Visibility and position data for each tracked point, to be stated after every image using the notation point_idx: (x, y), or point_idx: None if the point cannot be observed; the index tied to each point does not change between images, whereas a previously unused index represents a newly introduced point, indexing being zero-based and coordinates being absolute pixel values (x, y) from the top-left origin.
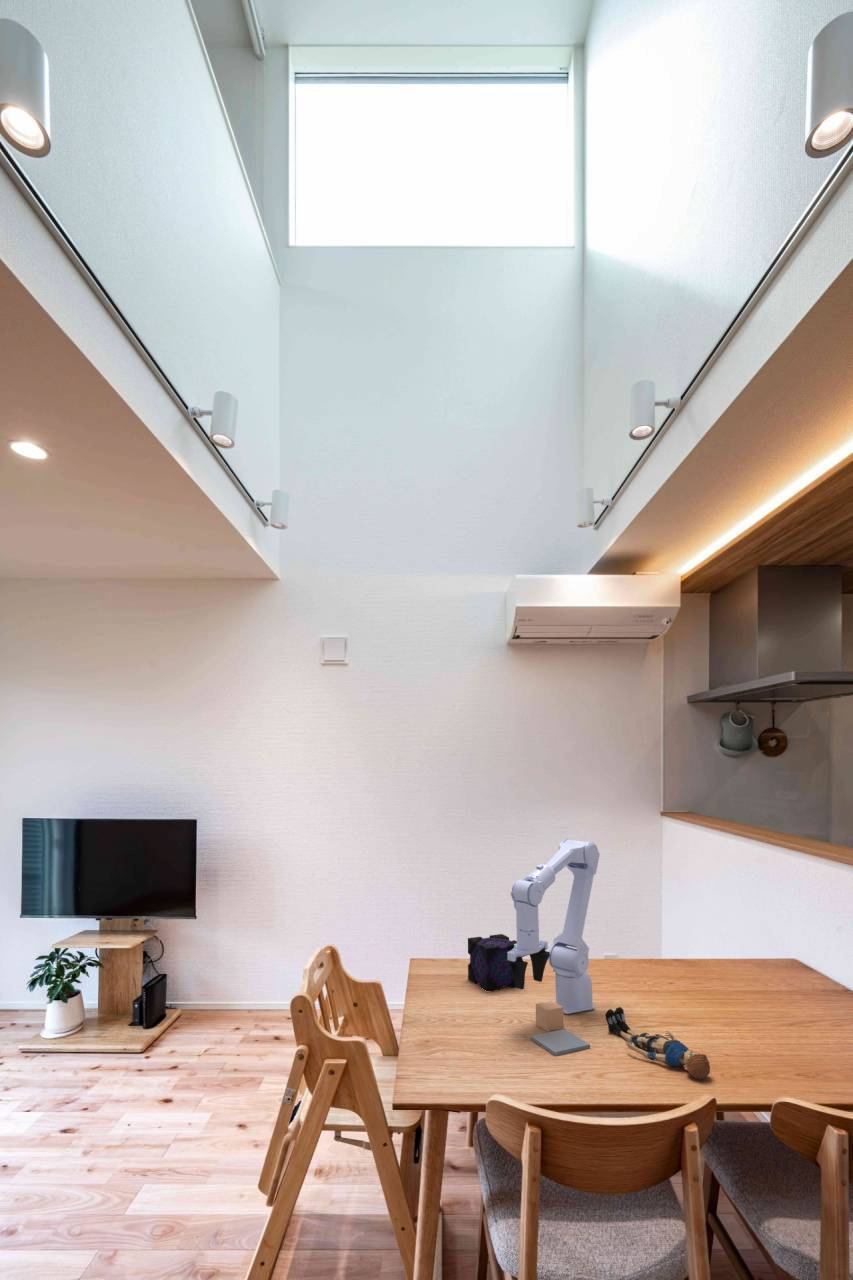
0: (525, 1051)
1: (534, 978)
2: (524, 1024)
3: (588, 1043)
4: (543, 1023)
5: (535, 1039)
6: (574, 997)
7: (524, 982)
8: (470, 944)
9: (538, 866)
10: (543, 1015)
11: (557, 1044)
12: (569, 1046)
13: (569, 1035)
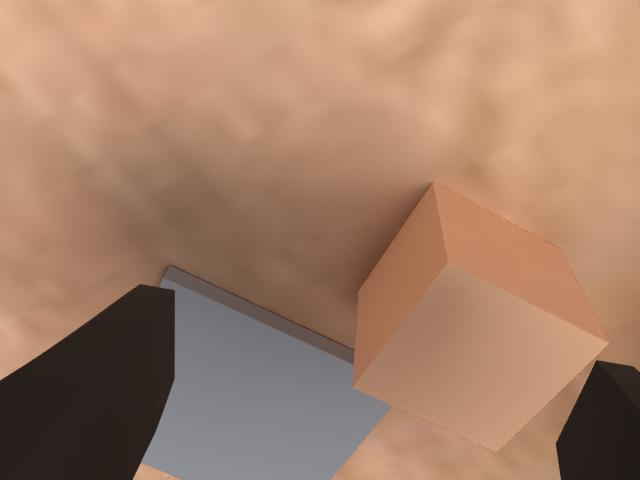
0: (17, 305)
1: (601, 386)
2: (374, 113)
3: None
4: (381, 278)
5: None
6: None
7: (135, 465)
8: None
9: None
10: (379, 315)
11: (177, 424)
12: (201, 469)
13: (330, 433)
